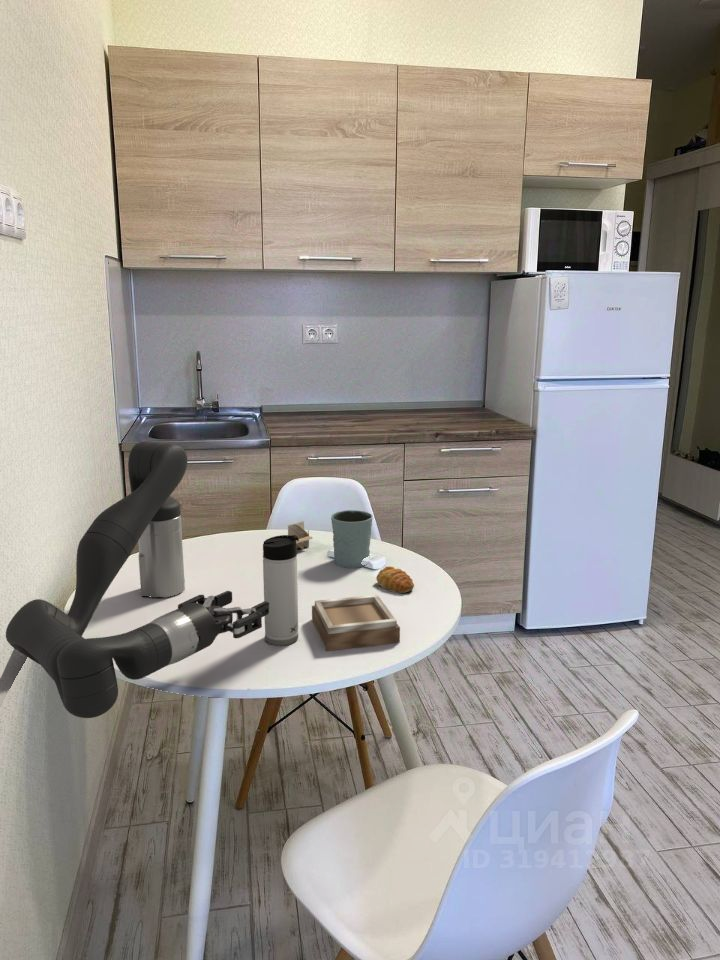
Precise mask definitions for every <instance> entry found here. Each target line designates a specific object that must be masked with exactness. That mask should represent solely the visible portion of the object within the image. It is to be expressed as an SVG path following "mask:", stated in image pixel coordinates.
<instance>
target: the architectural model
mask: <svg viewBox="0 0 720 960" xmlns="http://www.w3.org/2000/svg"><path fill="white" fill-rule="evenodd" d="M287 535H291V536H292V535H297V537H298V539H299V541H296V547H297V549H302V550H305V548H310V540H312V539H314V537H313V536H310V531H309V530H307V531H306V530H305V521H304V520H301V521H299V522H294V523H291V524H289V525H287Z"/></svg>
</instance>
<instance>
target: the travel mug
mask: <svg viewBox="0 0 720 960" xmlns="http://www.w3.org/2000/svg"><path fill="white" fill-rule="evenodd" d="M296 541H299V539H298V537H297V535H292V536H291V535H288V534H283V535H276V536H272V537H271V536H270V537H269V538H267V539H265V540H264V541H263V544H262V551H263V552H262V558H263V559H262V573H263V574H262V575H263V602H264V601H266V602H269V614H268V615H266V616H264V641H266V642H267V643H268V644H270V645H273V646H288V645H292V644H293V643H295V642H297V641H298V639H299V604H298V601H299V594H298V591H299V589H298V585H299V583H298V558H297V557H298V553H297V550H298V548H297V547H296Z"/></svg>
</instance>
